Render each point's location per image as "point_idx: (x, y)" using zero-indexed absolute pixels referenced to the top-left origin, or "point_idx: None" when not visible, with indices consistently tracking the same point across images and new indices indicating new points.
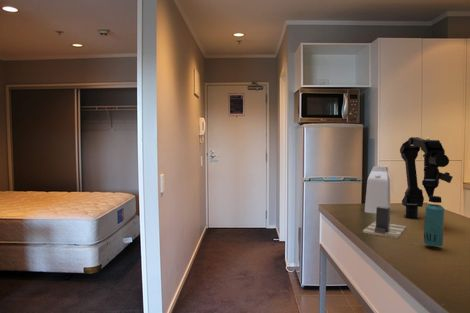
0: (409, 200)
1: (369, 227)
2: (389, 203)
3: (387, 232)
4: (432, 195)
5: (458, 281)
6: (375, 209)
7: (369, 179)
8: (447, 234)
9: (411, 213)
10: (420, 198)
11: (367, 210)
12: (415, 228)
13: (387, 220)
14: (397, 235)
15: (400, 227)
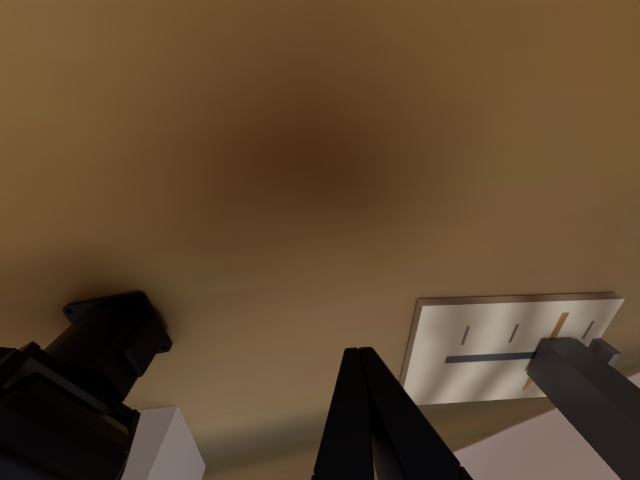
0: (127, 453)
1: (512, 393)
2: None
3: (570, 336)
4: (419, 413)
5: None
6: (185, 462)
7: None
8: (444, 104)
9: (150, 344)
10: (17, 431)
11: (199, 470)
12: (391, 268)
13: (633, 385)
14: (609, 301)
15: (460, 319)
